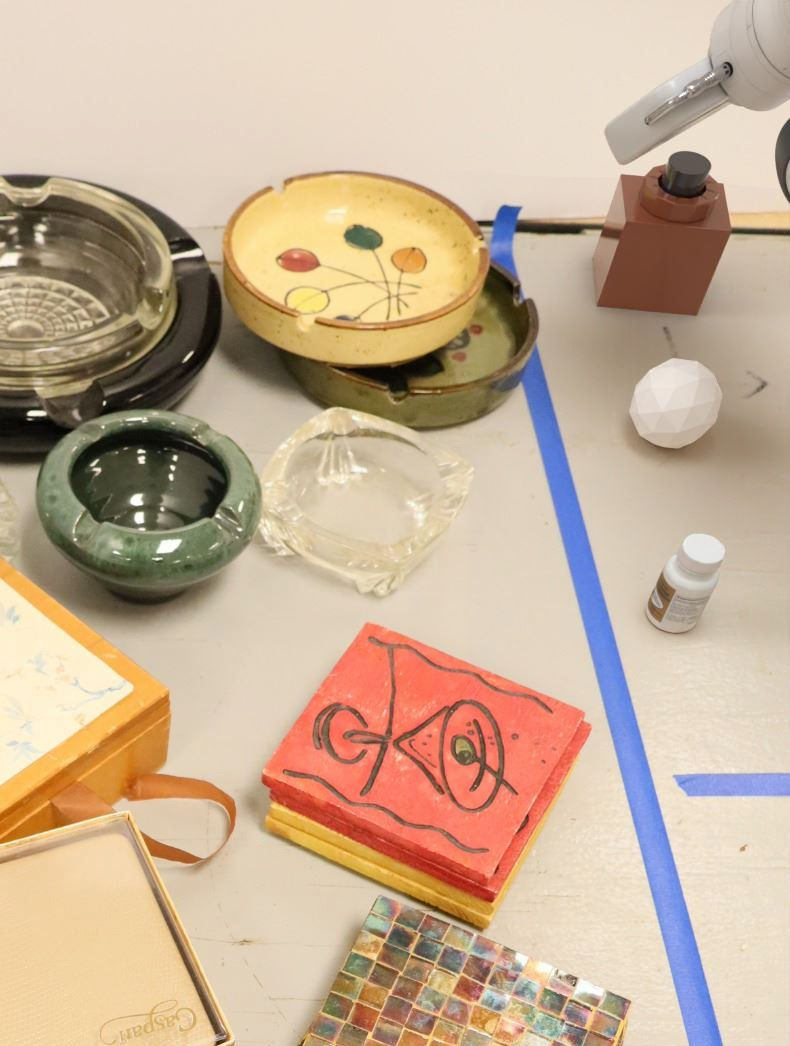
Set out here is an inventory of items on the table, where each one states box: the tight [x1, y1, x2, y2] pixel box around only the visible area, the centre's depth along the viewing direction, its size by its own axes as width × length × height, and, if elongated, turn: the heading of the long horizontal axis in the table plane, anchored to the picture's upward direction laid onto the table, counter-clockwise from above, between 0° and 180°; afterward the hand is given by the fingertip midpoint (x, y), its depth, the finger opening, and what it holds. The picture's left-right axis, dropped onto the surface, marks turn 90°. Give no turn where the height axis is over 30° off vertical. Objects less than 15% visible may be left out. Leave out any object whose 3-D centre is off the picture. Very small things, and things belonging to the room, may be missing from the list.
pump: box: [660, 150, 712, 199], centre depth 136 cm, size 4×4×2 cm
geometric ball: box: [628, 357, 724, 449], centre depth 130 cm, size 8×8×8 cm
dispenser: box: [592, 163, 733, 317], centre depth 141 cm, size 10×8×11 cm
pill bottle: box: [645, 533, 726, 634], centre depth 118 cm, size 4×4×8 cm
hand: (650, 131), depth 127 cm, fingers closed
